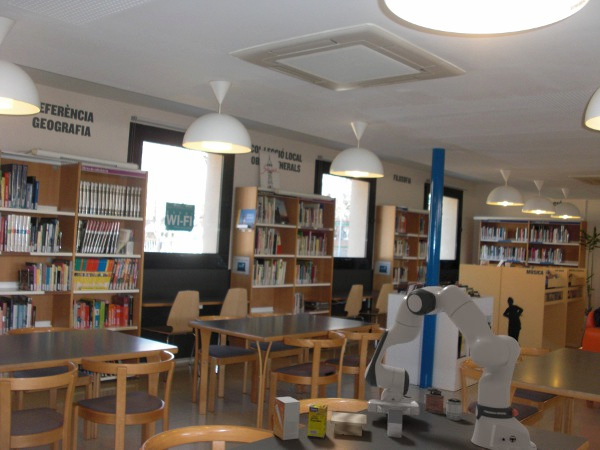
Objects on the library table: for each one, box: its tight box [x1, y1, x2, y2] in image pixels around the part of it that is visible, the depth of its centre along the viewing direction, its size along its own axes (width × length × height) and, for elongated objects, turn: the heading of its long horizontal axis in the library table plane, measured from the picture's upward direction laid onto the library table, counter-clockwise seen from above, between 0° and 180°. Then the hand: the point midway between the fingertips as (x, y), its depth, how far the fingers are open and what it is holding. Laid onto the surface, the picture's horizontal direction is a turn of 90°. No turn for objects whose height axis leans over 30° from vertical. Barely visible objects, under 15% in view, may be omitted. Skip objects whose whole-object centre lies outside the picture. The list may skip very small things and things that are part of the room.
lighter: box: [424, 387, 445, 415], centre depth 278 cm, size 8×3×10 cm, turn 58°
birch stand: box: [330, 411, 368, 437], centre depth 241 cm, size 13×13×5 cm
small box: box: [272, 396, 301, 441], centre depth 230 cm, size 8×6×13 cm
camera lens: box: [445, 398, 463, 421], centre depth 269 cm, size 6×6×8 cm
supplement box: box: [307, 403, 329, 440], centre depth 232 cm, size 6×6×11 cm
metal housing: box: [386, 406, 404, 438], centre depth 239 cm, size 5×5×10 cm
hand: (394, 412), depth 249 cm, fingers open, 8 cm apart
